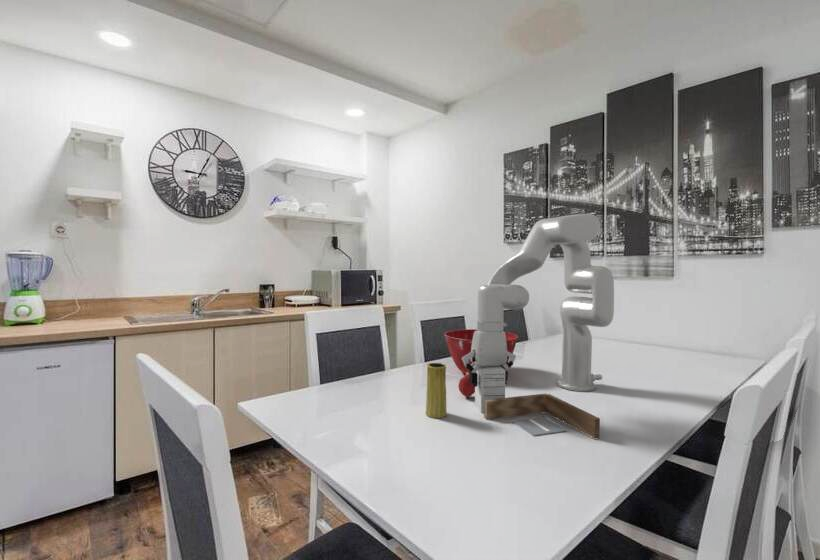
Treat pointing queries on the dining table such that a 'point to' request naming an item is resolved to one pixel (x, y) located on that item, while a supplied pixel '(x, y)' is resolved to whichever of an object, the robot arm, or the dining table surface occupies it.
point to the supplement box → (489, 385)
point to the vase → (436, 390)
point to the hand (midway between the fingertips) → (488, 384)
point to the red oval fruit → (466, 386)
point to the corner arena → (543, 404)
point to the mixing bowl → (462, 344)
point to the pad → (539, 426)
